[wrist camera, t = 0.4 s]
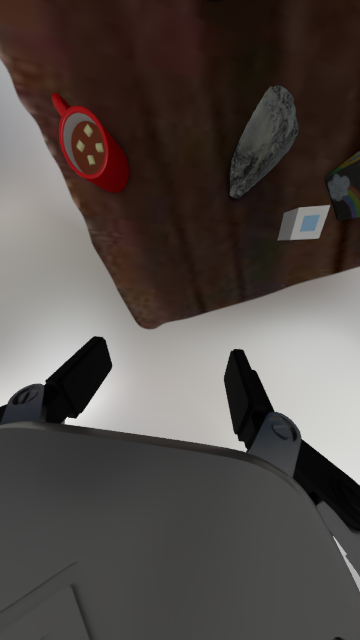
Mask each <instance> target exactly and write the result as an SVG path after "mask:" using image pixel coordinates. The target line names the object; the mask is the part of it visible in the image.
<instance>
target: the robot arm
mask: <svg viewBox="0 0 360 640" xmlns="http://www.w3.org/2000/svg"><path fill="white" fill-rule="evenodd" d="M111 368H112V362H111V359H110V355H109V351H108V348H107V344H106V340H105V339H104V338H103V337H96V336H95V337H93V338H91V339H90V340H89V341H88V342H87V343H86V344H85V345H84V346H83V347H82V348H81V349H79V350H78V351H77V352H76V353H75V354H74V355H73V356H72V357H71V358H70V359H69V360H68V361H66V362H65V363H64V364H63V365H62V366H61V367H60V368H59V369H58V370H57V371H56V372H54V373H53V374H52V375H51V376H50V377H49V378H48V379H47V380H46V384H45V385H44V386H43V385H42V384H32V385H29V386H27V387H24V388H23V389H21V390H19V391H18V392H17V393H15V394H14V395H13V396H12V397H11V398H10V400H9V402H8V404H6V405H4V406H1V407H0V640H360V592H359V589H358V587H357V585H356V583H355V581H354V579H353V577H352V574H351V572H350V570H349V568H348V566H347V564H346V562H345V560H344V558H343V556H342V554H341V552H340V550H339V548H338V546H337V544H336V542H335V540H334V538H333V536H334V537H335V538H336V540H337V541H338V542H339V544H340V545H341V547H342V548H343V549H344V551H345V552H346V553H347V555H346V558H347V559H348V560H349V562H350V563H351V564H352V565H353V567H354V569H355V570H356V571H357V573H358V574H359V576H360V485H358V484H357V483H356V482H355V481H354V480H353V479H351V478H350V477H349V476H348V475H347V474H345V473H344V472H343V471H342V470H340V469H339V468H338V467H336V466H335V465H334V464H333V463H331V462H330V461H328V459H326V458H325V457H324V456H322V455H321V454H320V453H319V452H317V451H316V450H315V449H314V448H312V447H311V446H310V445H309V444H307V443H306V442H305V441H304V440H302V439H301V434H300V431H299V429H298V428H297V426H296V425H295V424H294V423H293V422H292V420H290V419H289V418H288V417H287V416H285V415H283V414H281V413H278V412H274V410H273V407H272V405H271V403H270V401H269V399H268V396H267V394H266V392H265V390H264V388H263V385H262V383H261V381H260V379H259V377H258V374H257V372H256V371H255V370H252V369H251V367H250V365H249V362H248V360H247V357H246V355H245V353H244V351H243V350H241V349H234V350H233V351H231V352H230V357H229V361H228V364H227V368H226V372H225V375H224V383H225V388H226V394H227V399H228V404H229V409H230V414H231V419H232V424H233V430H234V433H235V434H237V435H238V439H239V441H243V442H244V443H245V447H246V448H247V451H246V453H245V452H243V451H238V450H234V449H229V448H224V447H218V446H212V445H206V444H200V443H193V442H186V441H180V440H172V439H166V438H159V437H152V436H145V435H138V434H131V433H124V432H117V431H110V430H102V429H95V428H88V427H81V426H73V425H66V424H64V423H65V419H66V418H67V417H69V418H77V417H78V415H79V414H80V413H82V412H83V410H84V409H85V408H86V406H87V405H88V403H89V402H90V400H91V399H92V397H93V396H94V394H95V393H96V391H97V390H98V388H99V387H100V385H101V384H102V382H103V381H104V379H105V378H106V376H107V375H108V373H109V372H110V370H111Z"/></svg>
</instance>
